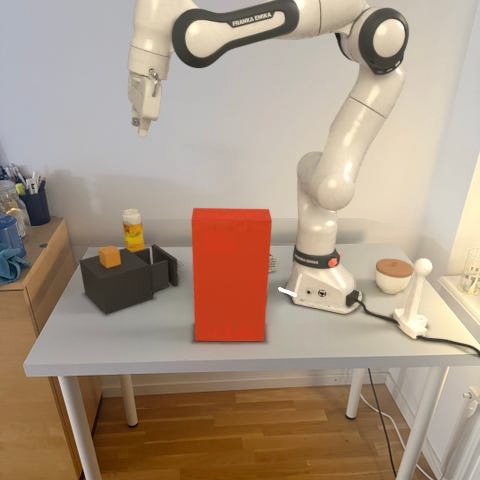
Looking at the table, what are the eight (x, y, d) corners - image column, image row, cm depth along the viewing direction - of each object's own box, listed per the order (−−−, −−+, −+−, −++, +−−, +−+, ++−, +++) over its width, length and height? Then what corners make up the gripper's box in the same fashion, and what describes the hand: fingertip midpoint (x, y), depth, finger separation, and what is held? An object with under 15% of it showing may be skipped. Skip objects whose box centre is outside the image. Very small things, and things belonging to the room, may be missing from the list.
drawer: (168, 266, 148) (166, 240, 143) (190, 281, 140) (189, 255, 135) (118, 281, 139) (115, 254, 134) (138, 299, 131) (135, 271, 126)
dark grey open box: (129, 280, 142) (126, 247, 136) (152, 298, 133) (149, 264, 127) (85, 293, 134) (79, 260, 128) (106, 314, 125) (100, 279, 119)
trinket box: (413, 288, 142) (420, 260, 137) (398, 301, 135) (405, 273, 130) (381, 277, 148) (387, 250, 143) (365, 289, 141) (370, 261, 136)
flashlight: (241, 254, 159) (241, 240, 156) (255, 252, 161) (255, 237, 158) (261, 273, 148) (262, 258, 145) (276, 270, 150) (277, 255, 147)
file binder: (196, 323, 123) (193, 207, 105) (261, 324, 123) (268, 208, 106) (195, 341, 116) (191, 220, 98) (263, 342, 117) (271, 221, 99)
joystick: (389, 316, 128) (405, 250, 117) (413, 313, 130) (431, 248, 119) (410, 339, 119) (429, 270, 108) (435, 336, 121) (457, 267, 110)
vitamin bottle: (123, 256, 156) (117, 213, 147) (133, 249, 160) (128, 207, 152) (138, 259, 154) (134, 216, 146) (148, 252, 159) (144, 210, 150)
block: (121, 264, 127) (119, 250, 125) (106, 268, 125) (104, 254, 122) (114, 258, 130) (112, 245, 127) (100, 262, 127) (98, 248, 125)
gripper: (172, 77, 94) (160, 146, 101) (153, 62, 110) (144, 122, 117) (142, 69, 92) (131, 140, 99) (127, 55, 107) (118, 117, 114)
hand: (138, 130), depth 108 cm, fingers open, 8 cm apart
